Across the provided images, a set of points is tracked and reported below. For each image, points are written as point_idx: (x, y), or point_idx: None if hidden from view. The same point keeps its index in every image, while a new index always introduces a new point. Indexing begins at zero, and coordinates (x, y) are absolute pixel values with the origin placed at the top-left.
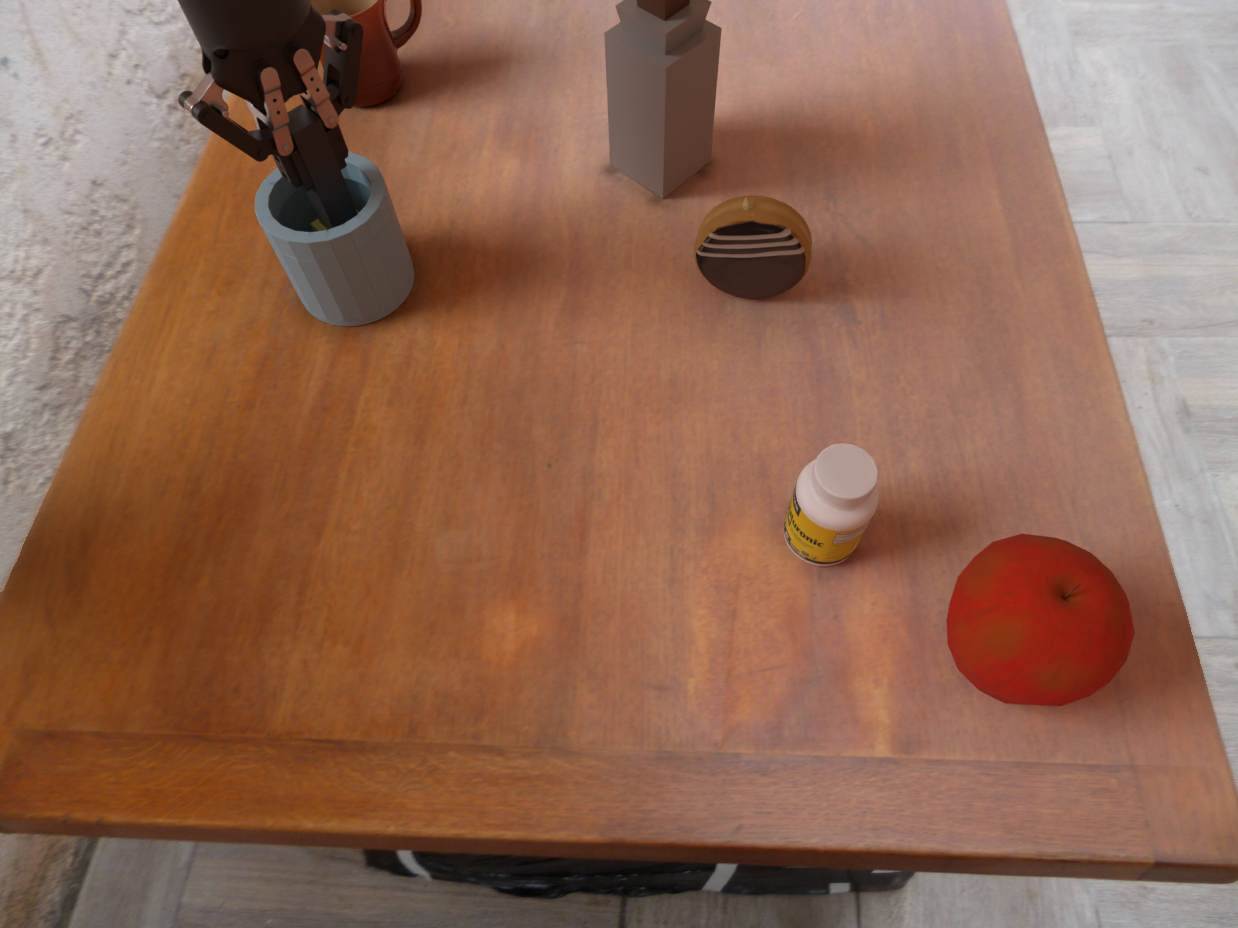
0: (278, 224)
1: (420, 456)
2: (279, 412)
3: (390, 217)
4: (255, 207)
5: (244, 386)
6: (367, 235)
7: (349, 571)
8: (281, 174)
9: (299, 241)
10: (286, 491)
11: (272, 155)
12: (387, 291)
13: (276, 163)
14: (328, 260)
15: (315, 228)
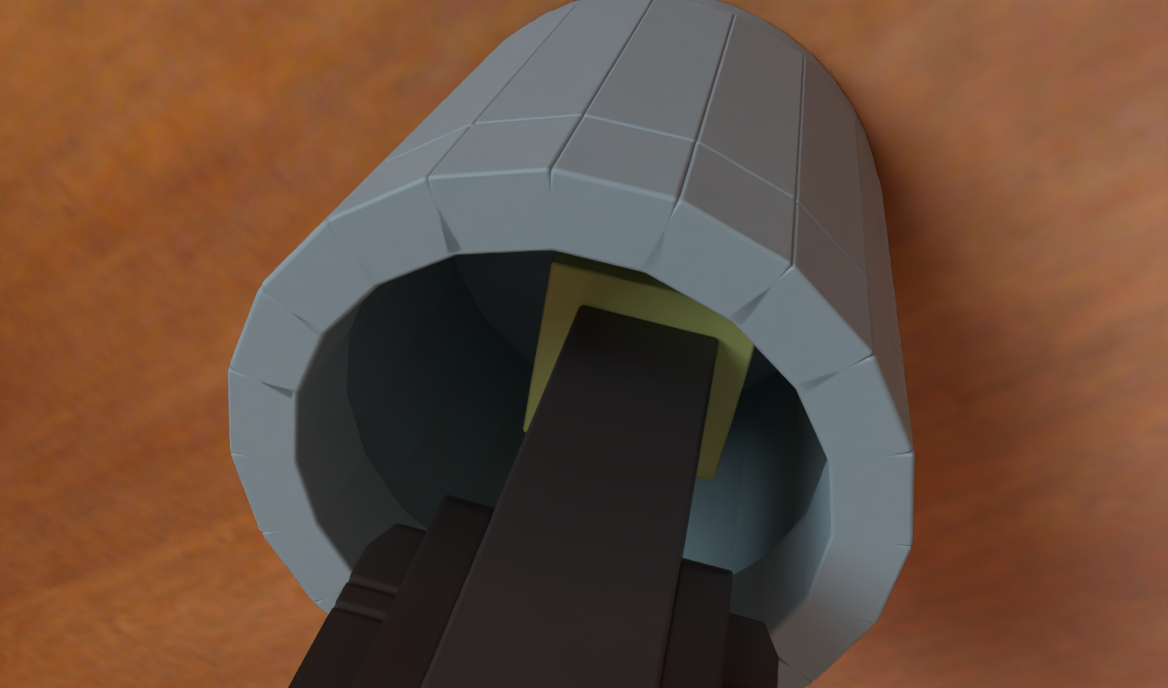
0: (288, 444)
1: None
2: (149, 325)
3: None
4: (273, 282)
5: (116, 177)
6: None
7: (65, 657)
8: (361, 558)
9: (294, 570)
10: (50, 472)
11: (300, 669)
12: None
13: (327, 622)
14: None
15: (546, 298)
